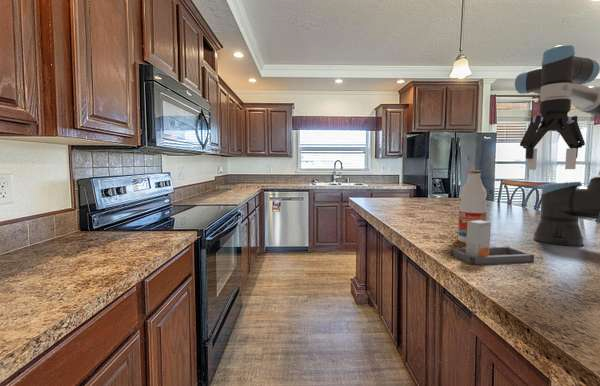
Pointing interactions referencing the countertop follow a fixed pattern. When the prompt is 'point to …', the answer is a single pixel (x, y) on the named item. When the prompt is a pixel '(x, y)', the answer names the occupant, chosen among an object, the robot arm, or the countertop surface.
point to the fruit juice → (471, 203)
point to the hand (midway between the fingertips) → (550, 169)
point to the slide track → (514, 257)
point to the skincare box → (478, 238)
